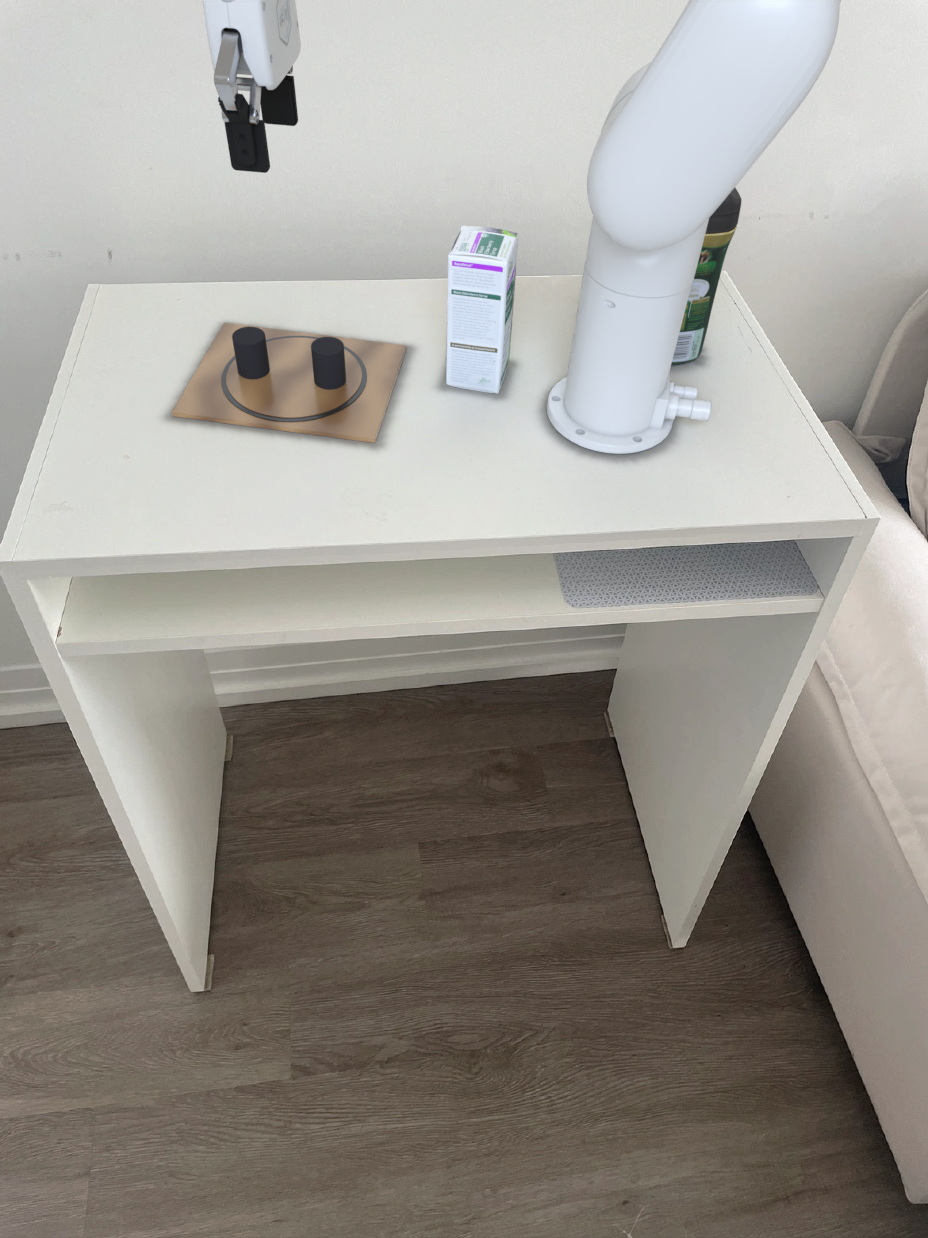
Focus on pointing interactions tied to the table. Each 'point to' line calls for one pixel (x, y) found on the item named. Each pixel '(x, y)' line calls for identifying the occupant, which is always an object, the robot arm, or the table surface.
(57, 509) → the table surface
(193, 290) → the table surface
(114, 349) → the table surface
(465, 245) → the syrup box
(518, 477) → the table surface
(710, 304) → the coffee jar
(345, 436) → the sketch board
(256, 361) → the black cylinder
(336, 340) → the black cylindrical block
